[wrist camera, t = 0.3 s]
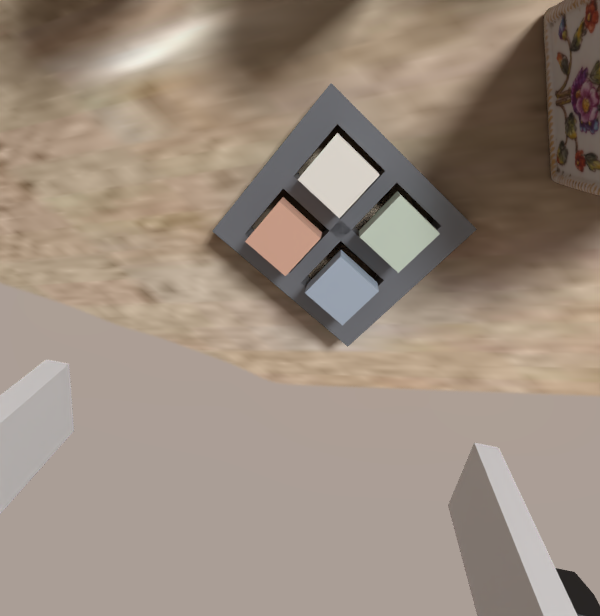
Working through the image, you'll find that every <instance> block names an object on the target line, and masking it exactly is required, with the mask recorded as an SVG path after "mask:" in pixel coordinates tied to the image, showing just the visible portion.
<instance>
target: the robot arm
mask: <svg viewBox="0 0 600 616" xmlns="http://www.w3.org/2000/svg"><path fill="white" fill-rule="evenodd" d="M70 383H71V382H70V369H69V364H68V363H63V362H58V361H53V360H48V359H47V360H45V361H43V362H42V363H41V364H40V365H38V366H37V367H36V368H34V369H33V370H32V371H31V372H29V373H28V374H27V375H26V376H24V377H23V378H22V379H20V380H19V381H18V382H17V383H15V384H14V385H13V386H12V387H10V388H9V389H8V390H7V391H5V392H4V393H3V394H1V395H0V514H1V513H2V511H3V510H4V509H5V508H6V507H7V506H8V505H9V504H10V502H11V501H12V500H13V499H14V498H15V497H16V495H18V493H19V492H20V491H21V490H22V489H23V488H24V486H25V485H26V484H27V483H28V482H29V481H30V480H31V479H32V478H33V477H34V475H35V474H36V473H37V472H38V471H39V470H40V468H41V467H42V466H43V465H44V464H45V463H46V462H47V461H48V460H49V458H50V457H51V456H52V455H53V454H54V453H55V452H56V450H57V449H58V448H59V447H60V446H61V445H62V444H63V443H64V441H65V440H66V439H67V438H68V437H69V436H70V435H71V434H72V432H73V431H74V426H73V412H72V396H71V384H70ZM448 507H449V510H450V514H451V518H452V522H453V525H454V529H455V533H456V537H457V540H458V544H459V548H460V552H461V556H462V559H463V563H464V567H465V571H466V575H467V578H468V582H469V586H470V590H471V593H472V597H473V601H474V605H475V608H476V612H477V615H478V616H600V605H599V604H598V601H597V600H596V598H595V596H594V594H593V593H592V592H591V591H590V589H589V588H588V587H587V586H586V585H585V584H584V583H583V581H582V580H581V579H580V578H579V577H578V575H577V574H576V573H575V572H572V571H567V570H562V569H557V568H555V566H554V564H553V562H552V560H551V558H550V556H549V554H548V552H547V549H546V547H545V545H544V543H543V541H542V539H541V537H540V535H539V532H538V530H537V528H536V526H535V524H534V522H533V520H532V518H531V516H530V513H529V511H528V509H527V507H526V505H525V502H524V500H523V498H522V496H521V494H520V492H519V490H518V488H517V485H516V483H515V481H514V479H513V477H512V475H511V473H510V471H509V468H508V466H507V464H506V462H505V460H504V458H503V456H502V453H501V451H500V449H499V448H498V447H494V446H489V445H484V444H479V443H474V445H473V447H472V450H471V452H470V454H469V457H468V459H467V462H466V464H465V466H464V469H463V471H462V473H461V476H460V479H459V481H458V483H457V486H456V488H455V490H454V493H453V495H452V498H451V500H450V503H449V505H448Z"/></svg>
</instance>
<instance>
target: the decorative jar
mask: <svg viewBox="0 0 600 616" xmlns="http://www.w3.org/2000/svg"><path fill="white" fill-rule="evenodd" d="M544 44H545V59H546V84H547V109H548V130H549V145H550V169H551V178H552V180H553V181H554V182H556V183H559V184H562V185H565V186H568V187H571V188H574V189H578V190H581V191H585V192H588V193H591V194H595V195H599V196H600V0H564V1H562V2H561V3H559V4H557V5H555V6H553V7H551V8H549V9H548V10H547V11H546V12H545V15H544Z"/></svg>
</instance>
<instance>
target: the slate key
mask: <svg viewBox="0 0 600 616" xmlns="http://www.w3.org/2000/svg"><path fill="white" fill-rule="evenodd" d="M378 292H379V289H378V284H377V282H376V281H375V280H374V279H373V278H372V277H371V276H370V275H369V274H367V273H366V272H365V271H364V270H363V269H362V268H361V267H360V266H359V265H358V264H356V263H355V262H354V261H353V260H352V259H351V258H350V257H349V256H348V255H347V254H345V253H344V252H343V251H342V250H340V251H339V252H338V253H337V254H336V255H335V256H334V257H333V258H332V259H331V260H330V261H329V262H328V263H327V264H326V265H325V266H324V267H323V268H322V269H321V270H320V271H319V272H318V273H317V274H316V275H315V276H314V278H313V279H312V280H311V281H310V282H309V283H308V284H307V286H306V290H305V294H307V295H308V296H309V297H310V298H311V299H312V300H313V301H315V302H316V303H317V304H318V305H319V306H320V307H322V308H323V309H324V310H325V311H326V312H327V313H329V314H330V315H331V316H332V317H333V318H334V319H336V320H337V321H338V322H339V323H340V324H341V325H344V324H345V323H346V322H347V321H348V320H349V319H350V318H351V317H352V316H353V315H354V314H355V313H356V312H357V311H358V310H359V309H361V308H362V307H363V306H364V305H365V304H366V303H367V302H368V301H369V300H370V299H371V298H372V297H373V296H374V295H375V294H377V293H378Z"/></svg>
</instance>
